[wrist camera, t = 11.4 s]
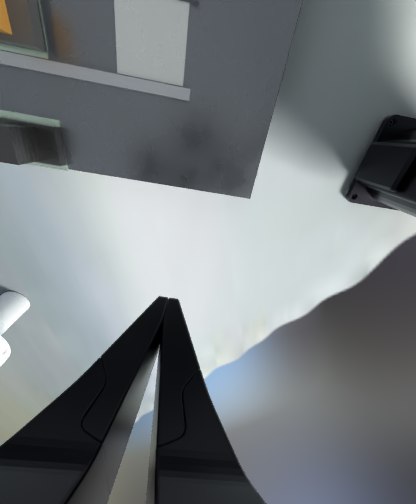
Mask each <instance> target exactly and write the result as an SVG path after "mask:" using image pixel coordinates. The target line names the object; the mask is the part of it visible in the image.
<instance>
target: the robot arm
mask: <svg viewBox="0 0 416 504" xmlns="http://www.w3.org/2000/svg"><path fill="white" fill-rule="evenodd" d="M391 120H392V121H393V122H392V125H391V126H389V123H390V121H391ZM354 194H355V196H354V197H353V198H352V196H353V195H354ZM346 199H347V200H348V201H350V202H352V203H358V204H364V205H370V206H376V207H382V208H388V209H394V210H400V211H402V212H405V213H407V214H410V215H412V216H415V217H416V119H415V118H410V117H405V116H400V115H390V116H388V117H386V118H385V119H384V121H383V122H382V125H381V127H380V129H379V131H378V133H377V135H376V137H375V139H374V141H373V143H372V144H371V145H370V147H369V149H368V151H367V153H366V155H365V157H364V159H363V161H362V163H361V165H360V167H359V169H358V171H357V173H356V176H355V179H354V181H353V183H352V185H351V187H350V189H349V191H348V193H347V195H346ZM159 346H160V347H159ZM158 351H159V355H158V366H157V377H156V389H155V400H154V413H153V423H152V434H151V446H150V457H149V468H148V481H147V491H146V503H145V504H266V503H265V501H264V500H263V499H262V497H261V496H260V495H259V493H258V492H257V491H256V489H255V488H254V487H253V486H252V484H251V482H250V481H249V479H248V478H247V476H246V475H245V473H244V471H243V469H242V467H241V465H240V463H239V461H238V459H237V457H236V455H235V453H234V450H233V448H232V446H231V444H230V442H229V440H228V437H227V435H226V433H225V431H224V428H223V426H222V424H221V421H220V419H219V417H218V415H217V412H216V410H215V408H214V405H213V403H212V401H211V398H210V396H209V393H208V390H207V387H206V384H205V382H204V378H203V375H202V372H201V370H200V366H199V363H198V360H197V356H196V353H195V350H194V347H193V344H192V341H191V337H190V334H189V331H188V328H187V325H186V321H185V318H184V315H183V312H182V309H181V306H180V302H179V300H178V299H175V298H169V299H168V297H162V296H159V297H158V298H157V299H156V300H155V301H154V302H153V303H152V304H151V305H150V306H149V307H148V308H147V309H146V310H145V311H144V312H143V313H142V314H141V315H140V316H139V317H138V318H137V319H136V320H135V321H134V323H133V324H132V325H131V326H130V327H129V328H128V329H127V330H126V331H125V332H124V333H123V334H122V335H121V336H120V337H119V338H118V339H117V340H116V341H115V342H114V343H113V344H112V345H111V346H110V347H109V348H108V349H107V350H106V351H105V352H104V353H103V355H102V356H101V358H99V359H98V360H97V361H96V362H95V363H94V364H93V365H92V366H91V367H90V368H89V369H88V370H87V371H86V372H85V373H84V374H83V375H82V376H81V377H80V378H79V379H78V380H77V381H75V382H74V383H73V384H72V385H71V386H70V387H69V388H68V389H66V390H65V391H64V392H63V393H62V394H61V395H60V396H59V397H57V398H56V399H55V400H54V401H53V402H52V403H51V404H49V405H48V406H47V407H46V408H45V409H44V410H42V411H41V412H40V413H39V414H38V415H37V416H35V417H34V418H33V419H32V420H31V421H30V422H28V423H27V424H26V425H25V426H24V427H23V428H21V429H20V430H19V431H18V432H17V433H16V434H15V435H13V436H12V437H11V438H10V439H9V440H7V441H6V442H5V443H4V444H2V445H1V446H0V504H107V502H108V500H109V495H110V493H111V491H112V487H113V485H114V482H115V479H116V476H117V473H118V469H119V467H120V464H121V461H122V458H123V455H124V452H125V449H126V446H127V443H128V440H129V437H130V434H131V431H132V428H133V425H134V422H135V419H136V416H137V413H138V410H139V408H140V405H141V402H142V399H143V396H144V393H145V390H146V387H147V384H148V381H149V378H150V375H151V372H152V369H153V366H154V363H155V360H156V357H157V354H158Z"/></svg>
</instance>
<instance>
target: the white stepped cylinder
mask: <svg viewBox="0 0 416 504" xmlns="http://www.w3.org/2000/svg"><path fill="white" fill-rule="evenodd" d="M29 307H30V303H29V301H28V299H27V298H26V297H24V296H23V295H21V294H19V293H16V292H11V291H9V292H5V293H3V294H2V295H1V296H0V366H1V365H2V364H3V363H4V362H5V361H6V360H7V358H8V357H9V356H10V353H11V350H10V346H9V345H8V343H7V342H6V340H5V339H4V338H3V337H2V336H1V335H2V334H3V333H4V332H5V331H6V330H7V329H8V328H9V327H10V326H11V325H12V324H13V323H14V322H15V321H16V320H17V319H18V318H19V317H20V316H21V315H22V314H23V313H24V312H25V311H26V310H27V309H28V308H29Z"/></svg>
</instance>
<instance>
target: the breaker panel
mask: <svg viewBox="0 0 416 504" xmlns="http://www.w3.org/2000/svg"><path fill="white" fill-rule="evenodd" d="M302 1H303V0H37V6H38V12H39V18H40V23H41V29H42V35H43V41H44V46H45V52H44V51H40V50H35V49H30V48H25V47H20V46H15V45H10V44H6V43H1V42H0V162H4V163H10V164H16V165H21V164H30V165H36V166H43V167H49V168H55V169H61V170H67V171H68V169H72V170H78V171H84V172H90V173H96V174H102V175H108V176H114V177H121V178H127V179H133V180H139V181H145V182H151V183H157V184H163V185H170V186H176V187H182V188H188V189H194V190H200V191H206V192H213V193H219V194H225V195H231V196H237V197H243V198H249V199H250V197H251V193H252V189H253V186H254V182H255V178H256V174H257V170H258V167H259V163H260V159H261V155H262V152H263V148H264V144H265V140H266V137H267V133H268V129H269V125H270V122H271V118H272V114H273V110H274V106H275V103H276V99H277V95H278V91H279V88H280V84H281V80H282V76H283V73H284V69H285V65H286V61H287V58H288V54H289V50H290V46H291V42H292V39H293V35H294V31H295V27H296V24H297V20H298V16H299V12H300V9H301V5H302Z"/></svg>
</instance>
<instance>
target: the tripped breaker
mask: <svg viewBox="0 0 416 504" xmlns="http://www.w3.org/2000/svg"><path fill="white" fill-rule="evenodd" d="M0 42H1V43H6V44H10V45H15V46H20V47H25V48H30V49H35V50H40V51H44V52H45V46H44V41H43V35H42V29H41V23H40V18H39V12H38V6H37V0H0Z"/></svg>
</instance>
